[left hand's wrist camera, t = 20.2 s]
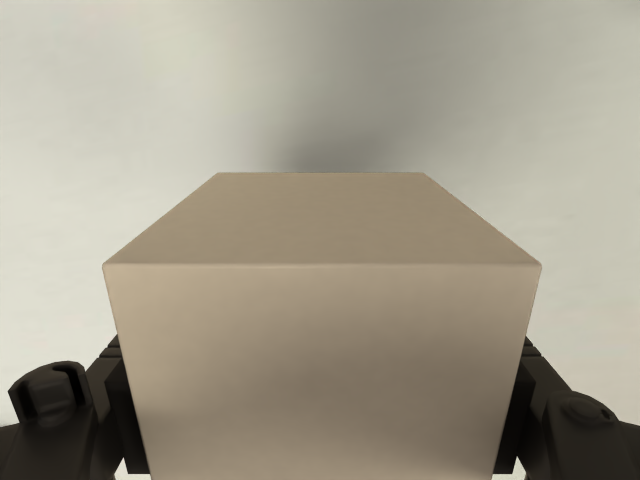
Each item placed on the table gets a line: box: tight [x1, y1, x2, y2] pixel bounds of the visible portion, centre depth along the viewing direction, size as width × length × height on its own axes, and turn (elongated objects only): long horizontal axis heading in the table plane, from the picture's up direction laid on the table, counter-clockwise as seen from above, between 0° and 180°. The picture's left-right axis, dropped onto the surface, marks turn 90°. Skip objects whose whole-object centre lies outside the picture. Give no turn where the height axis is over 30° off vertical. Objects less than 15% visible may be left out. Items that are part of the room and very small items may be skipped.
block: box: [102, 173, 542, 480], centre depth 11 cm, size 8×9×8 cm
